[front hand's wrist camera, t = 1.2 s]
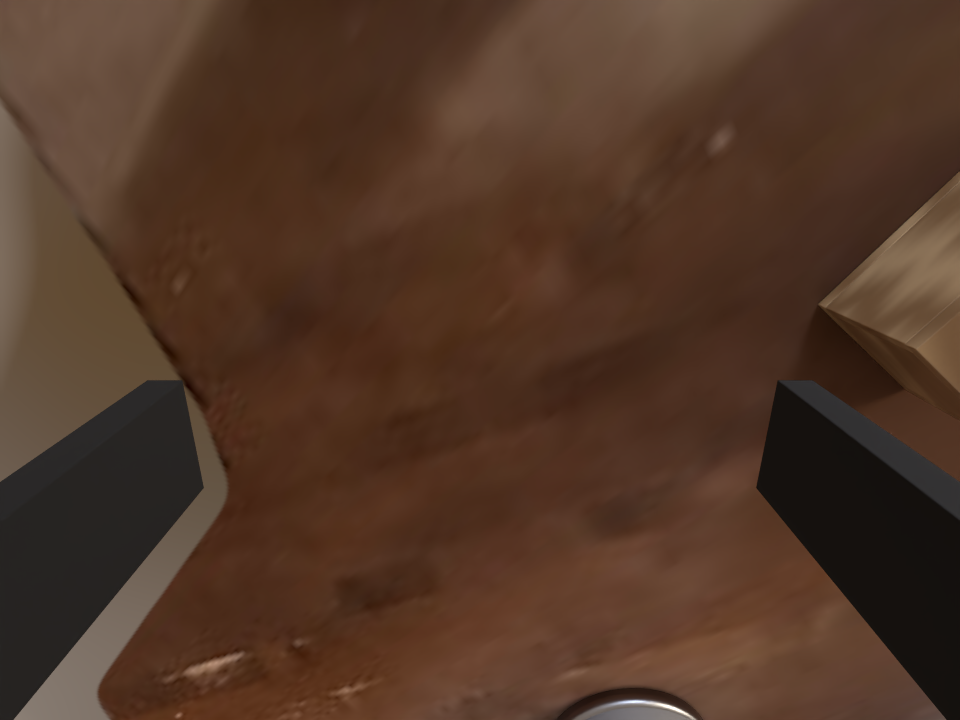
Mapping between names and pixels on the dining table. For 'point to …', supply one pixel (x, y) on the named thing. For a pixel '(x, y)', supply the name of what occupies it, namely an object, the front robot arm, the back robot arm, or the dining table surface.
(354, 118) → the dining table surface
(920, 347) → the tan wooden block
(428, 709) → the dining table surface
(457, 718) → the dining table surface
